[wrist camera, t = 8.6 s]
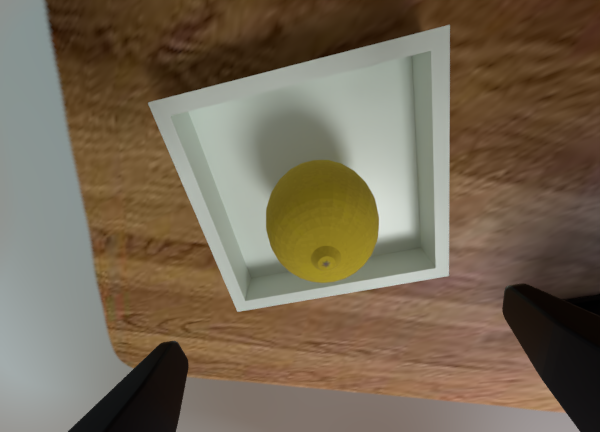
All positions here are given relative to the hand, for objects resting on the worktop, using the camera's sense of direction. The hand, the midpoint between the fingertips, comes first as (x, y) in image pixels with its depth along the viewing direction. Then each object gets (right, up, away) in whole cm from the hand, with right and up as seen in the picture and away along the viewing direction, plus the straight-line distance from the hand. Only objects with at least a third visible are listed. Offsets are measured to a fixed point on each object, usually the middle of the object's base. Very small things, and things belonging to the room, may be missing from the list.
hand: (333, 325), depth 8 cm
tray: (0, +5, +11) cm, 12 cm away
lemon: (0, +5, +10) cm, 11 cm away
